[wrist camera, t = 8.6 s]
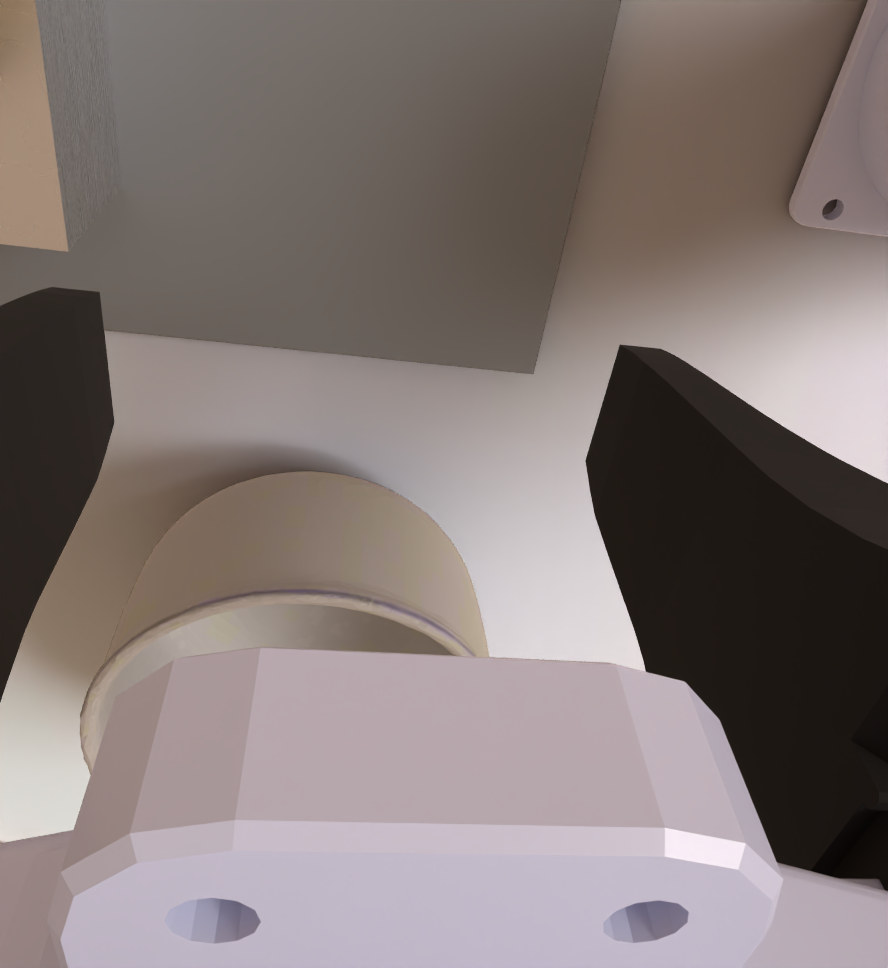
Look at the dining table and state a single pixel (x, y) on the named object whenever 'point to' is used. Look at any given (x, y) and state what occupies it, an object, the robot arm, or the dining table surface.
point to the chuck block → (55, 121)
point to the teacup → (290, 583)
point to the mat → (340, 174)
